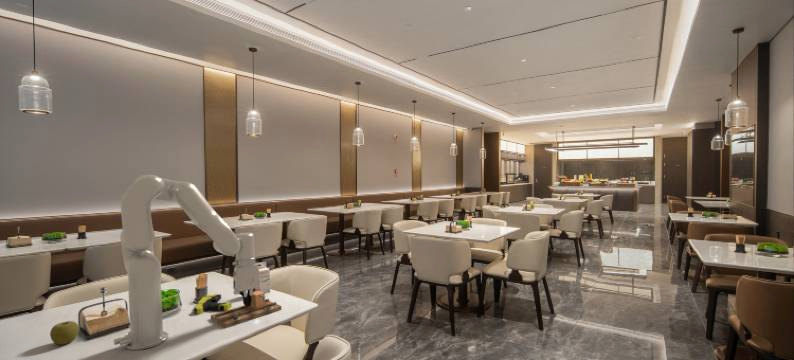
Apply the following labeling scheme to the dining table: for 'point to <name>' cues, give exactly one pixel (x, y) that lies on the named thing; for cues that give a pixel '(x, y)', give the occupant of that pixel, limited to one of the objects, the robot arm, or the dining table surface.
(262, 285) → the ink cartridge box
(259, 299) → the orange tan block
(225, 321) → the wooden slatted tray
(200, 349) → the dining table surface
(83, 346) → the dining table surface
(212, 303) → the stun gun
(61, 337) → the apple
